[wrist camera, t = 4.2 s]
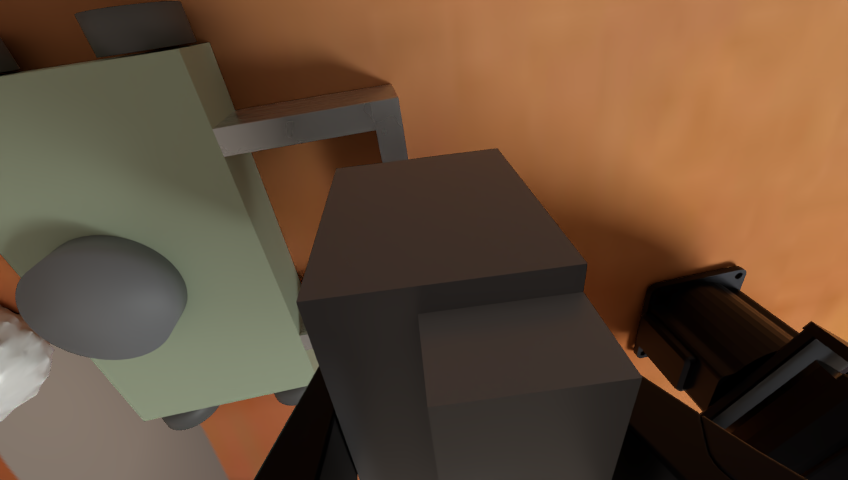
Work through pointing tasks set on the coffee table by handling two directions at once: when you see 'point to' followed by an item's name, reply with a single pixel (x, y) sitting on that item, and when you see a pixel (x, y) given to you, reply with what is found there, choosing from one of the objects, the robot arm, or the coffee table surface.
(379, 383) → the dark grey stepped block
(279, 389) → the mower deck
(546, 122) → the coffee table surface
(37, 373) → the sitting furry creature
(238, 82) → the coffee table surface
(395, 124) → the bracket
